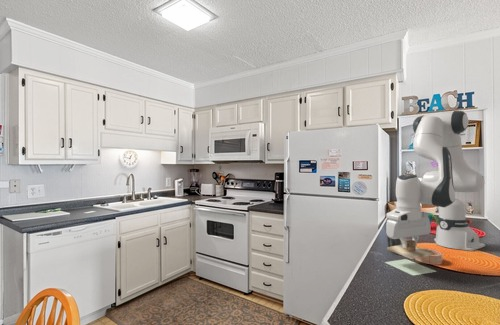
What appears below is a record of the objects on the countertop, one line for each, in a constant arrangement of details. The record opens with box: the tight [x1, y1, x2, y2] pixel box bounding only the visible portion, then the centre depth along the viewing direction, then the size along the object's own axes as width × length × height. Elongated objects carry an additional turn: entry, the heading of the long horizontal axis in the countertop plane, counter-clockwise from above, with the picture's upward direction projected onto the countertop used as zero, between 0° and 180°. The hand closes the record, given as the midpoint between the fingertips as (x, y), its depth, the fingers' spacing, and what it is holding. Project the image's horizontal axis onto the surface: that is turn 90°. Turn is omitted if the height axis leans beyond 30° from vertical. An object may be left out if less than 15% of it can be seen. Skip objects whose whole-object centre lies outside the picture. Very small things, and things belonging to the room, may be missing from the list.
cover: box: [386, 238, 435, 260], centre depth 107 cm, size 12×12×5 cm
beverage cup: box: [386, 235, 402, 255], centre depth 123 cm, size 7×7×20 cm
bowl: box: [414, 247, 443, 266], centre depth 113 cm, size 10×10×4 cm
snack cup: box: [424, 211, 439, 227], centre depth 169 cm, size 16×10×10 cm
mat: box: [384, 258, 438, 276], centre depth 106 cm, size 12×14×1 cm
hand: (409, 246), depth 107 cm, fingers closed on cover, 3 cm apart
